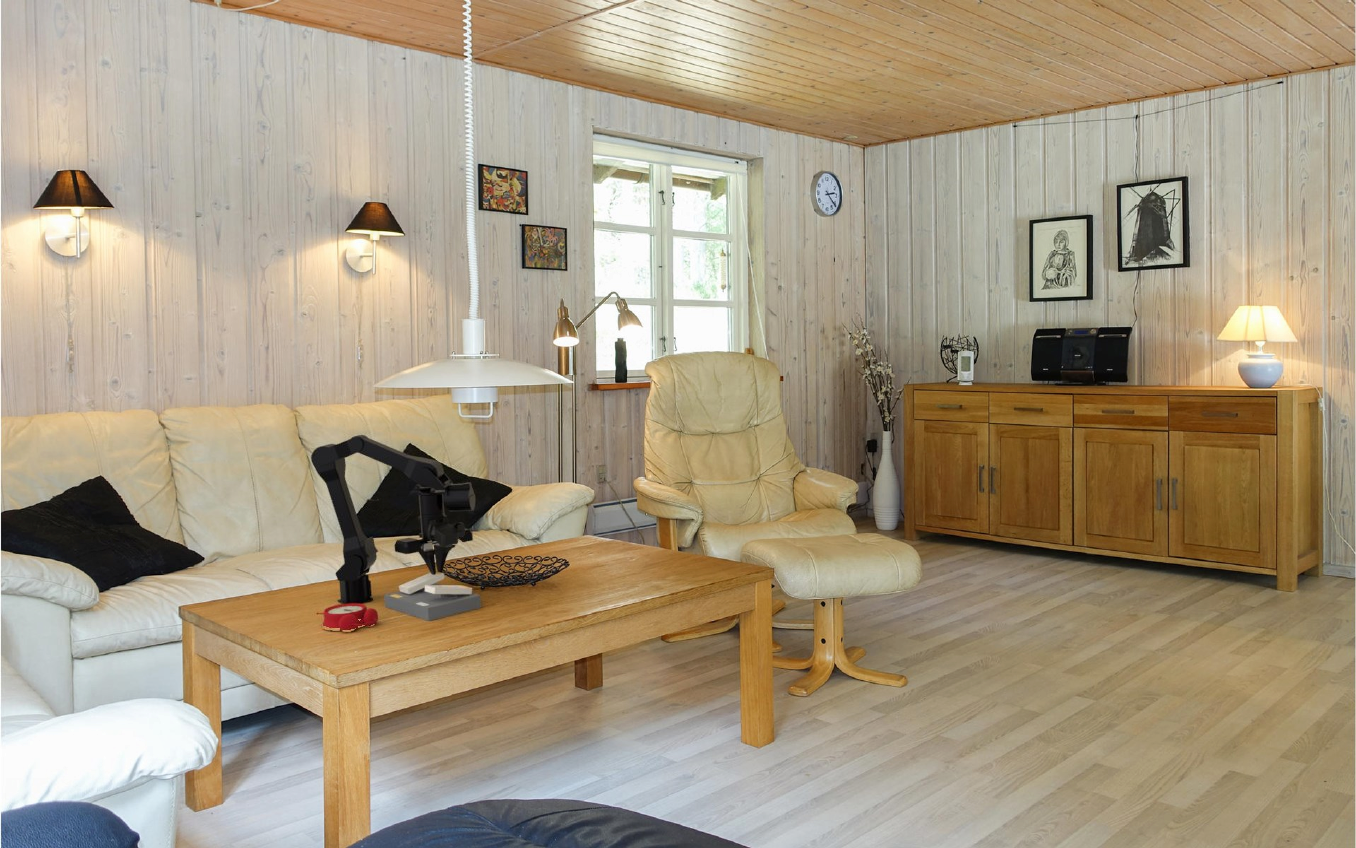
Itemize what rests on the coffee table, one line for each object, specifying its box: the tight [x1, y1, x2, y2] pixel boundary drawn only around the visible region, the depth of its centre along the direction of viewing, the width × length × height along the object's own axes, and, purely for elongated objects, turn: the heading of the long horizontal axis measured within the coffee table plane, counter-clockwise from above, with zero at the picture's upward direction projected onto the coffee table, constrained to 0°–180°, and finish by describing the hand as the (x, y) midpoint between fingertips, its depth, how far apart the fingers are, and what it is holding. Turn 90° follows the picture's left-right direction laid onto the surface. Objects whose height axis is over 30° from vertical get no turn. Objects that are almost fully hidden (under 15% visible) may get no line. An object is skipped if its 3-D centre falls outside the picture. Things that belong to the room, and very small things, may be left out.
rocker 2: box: [425, 584, 473, 594], centre depth 238 cm, size 10×4×2 cm, turn 134°
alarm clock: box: [315, 603, 379, 630], centre depth 229 cm, size 10×6×15 cm
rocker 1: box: [398, 570, 446, 594], centre depth 247 cm, size 10×4×2 cm, turn 134°
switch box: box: [383, 582, 482, 622], centre depth 242 cm, size 14×20×4 cm
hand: (436, 575), depth 250 cm, fingers closed, pressing on rocker 1
